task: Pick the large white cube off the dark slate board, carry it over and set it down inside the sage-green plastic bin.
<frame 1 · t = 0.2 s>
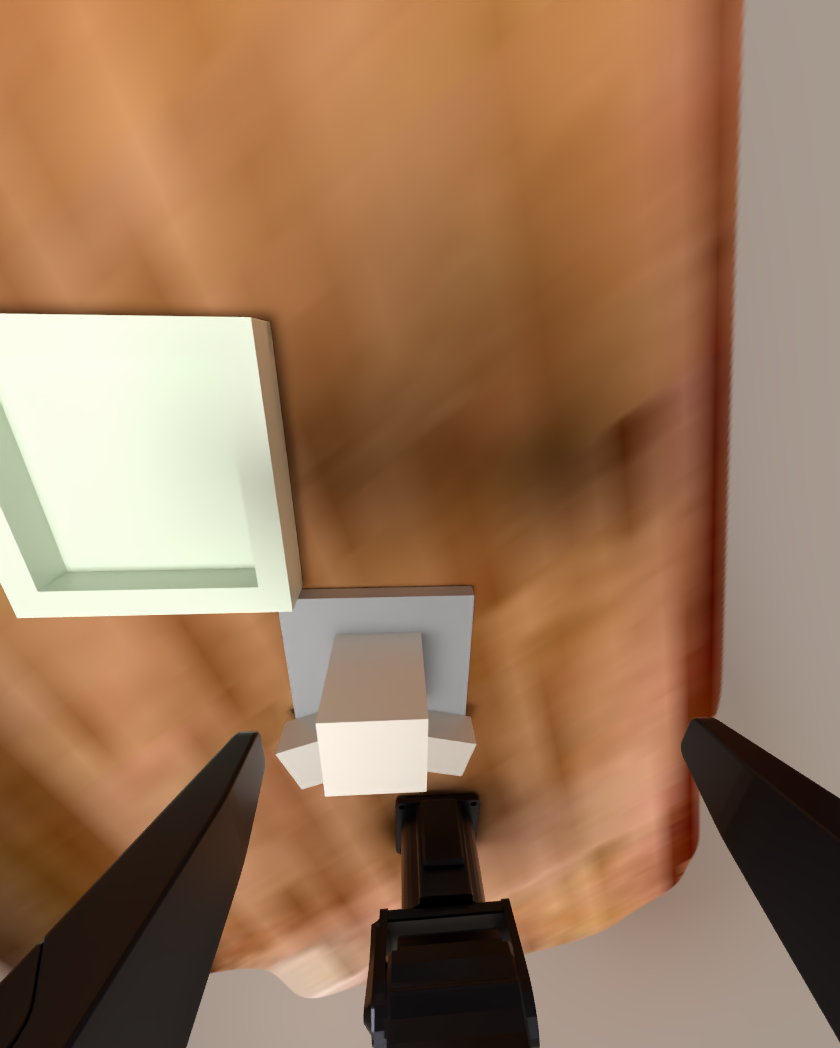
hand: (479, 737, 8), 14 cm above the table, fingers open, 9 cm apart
large white cube: (379, 666, 24), point 1 cm above the table, touching slate board
slate board: (380, 667, 25), on the table
bin: (150, 471, 20), on the table
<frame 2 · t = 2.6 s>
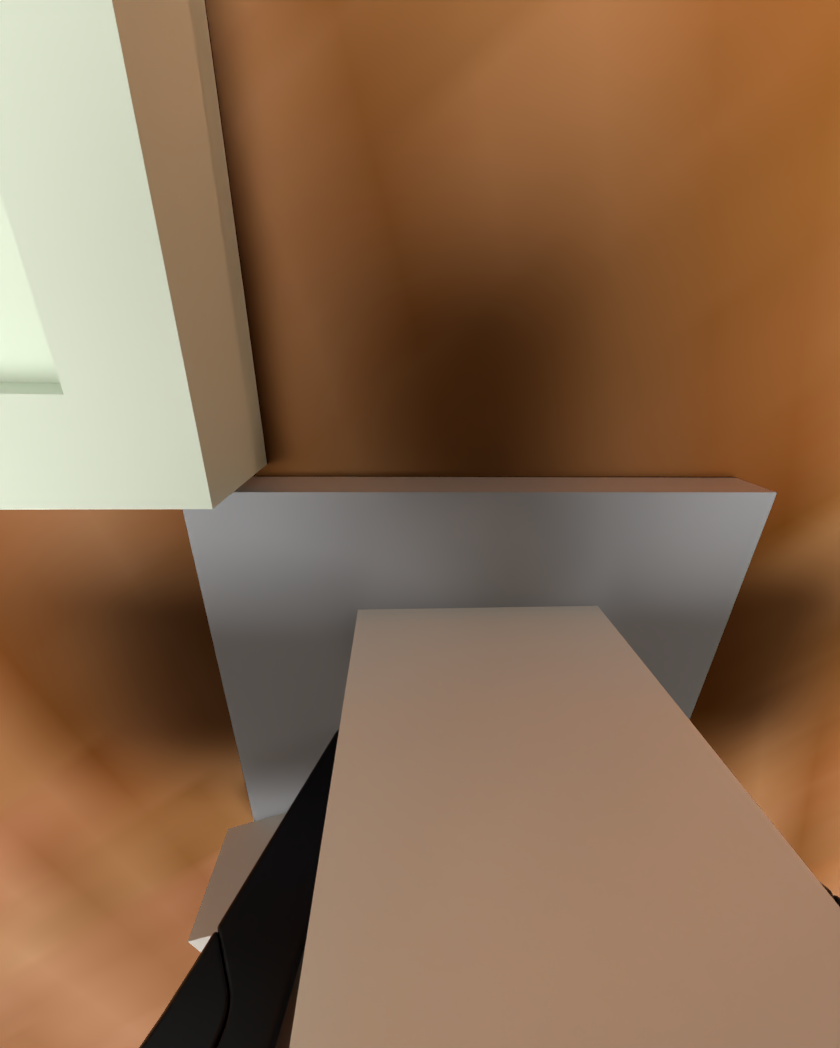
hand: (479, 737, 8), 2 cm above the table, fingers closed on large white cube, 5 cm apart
large white cube: (471, 698, 9), point 1 cm above the table, touching gripper, slate board
slate board: (462, 696, 10), on the table
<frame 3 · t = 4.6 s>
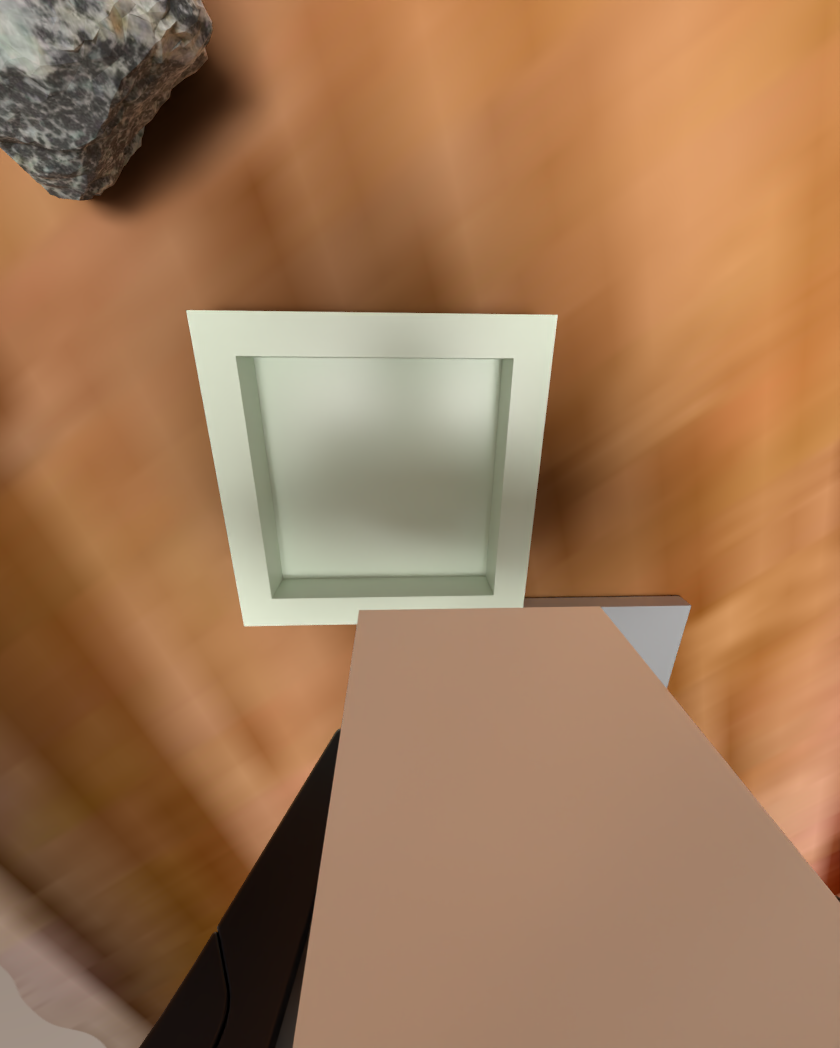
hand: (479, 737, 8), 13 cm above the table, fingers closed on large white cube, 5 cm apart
large white cube: (473, 699, 9), point 12 cm above the table, touching gripper
slate board: (568, 681, 24), on the table
bin: (383, 475, 19), on the table
stone: (111, 51, 14), on the table
when the fingers open (3 cm above the table, at t = 6.6 s): large white cube drops 2 cm, resting on bin.
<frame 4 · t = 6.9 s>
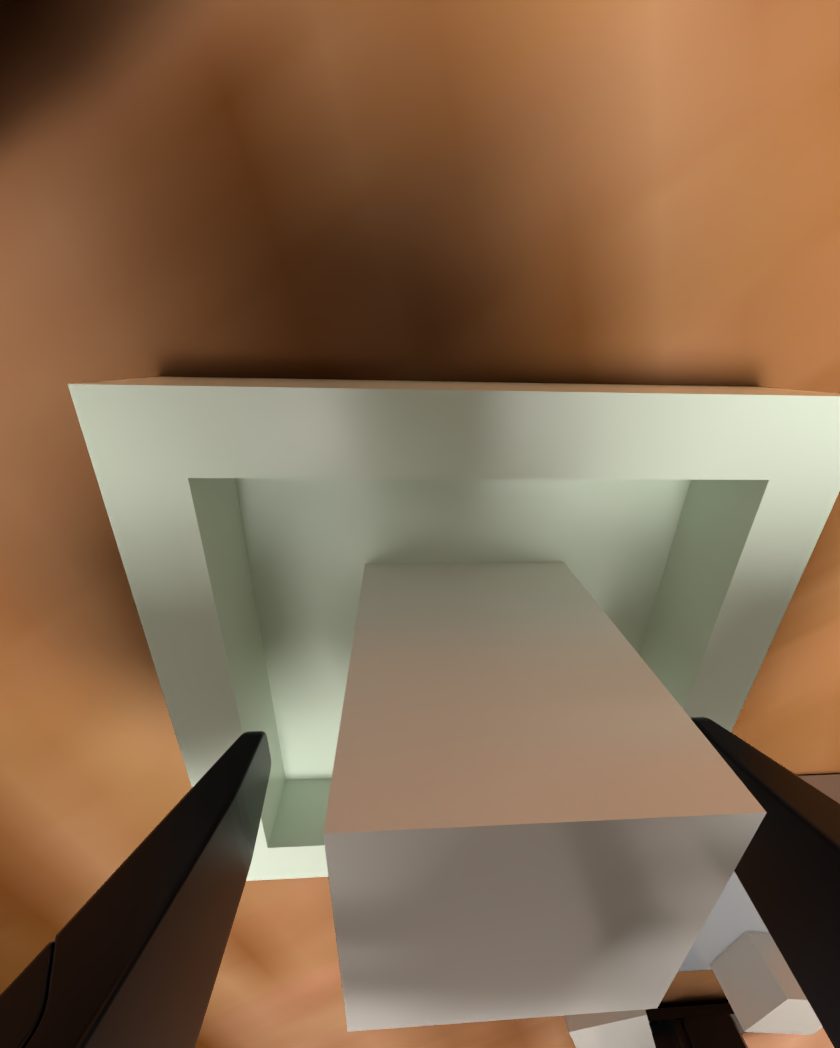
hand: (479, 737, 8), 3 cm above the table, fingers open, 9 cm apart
large white cube: (459, 643, 11), point 1 cm above the table, touching bin
slate board: (692, 871, 17), on the table
bin: (455, 630, 11), on the table
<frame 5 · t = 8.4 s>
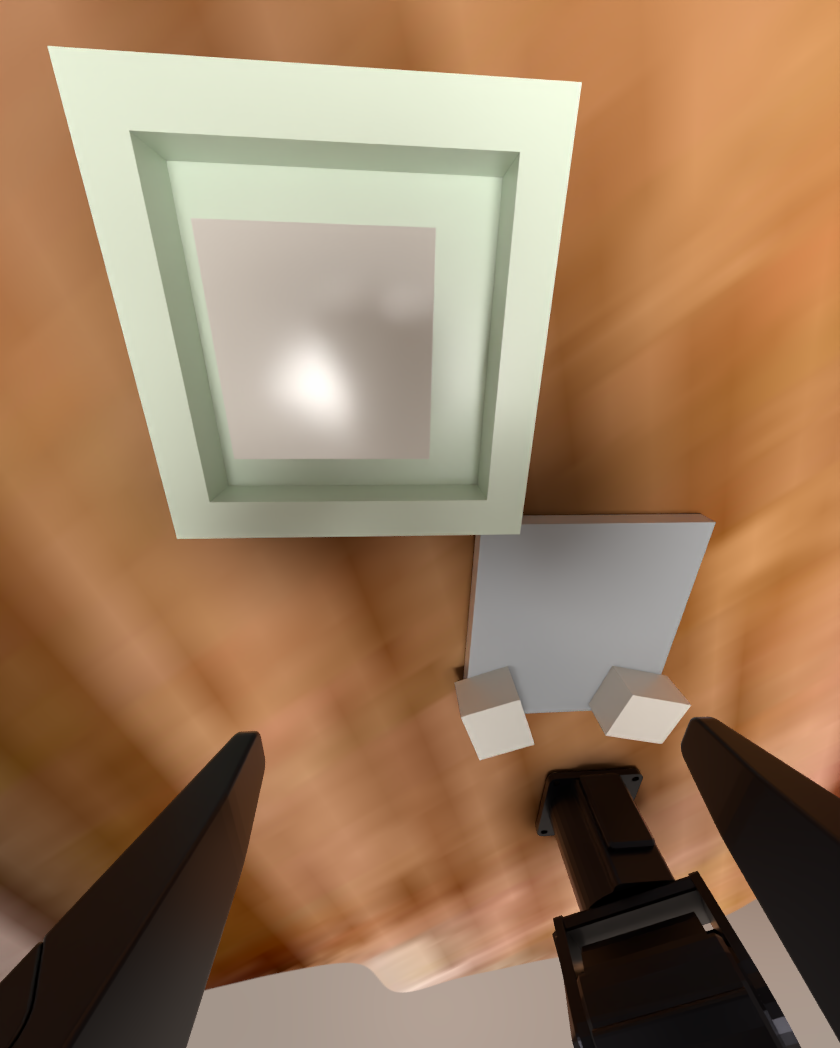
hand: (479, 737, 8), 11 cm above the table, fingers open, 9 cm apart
large white cube: (349, 349, 15), point 1 cm above the table, touching bin
slate board: (569, 617, 21), on the table
bin: (350, 350, 15), on the table
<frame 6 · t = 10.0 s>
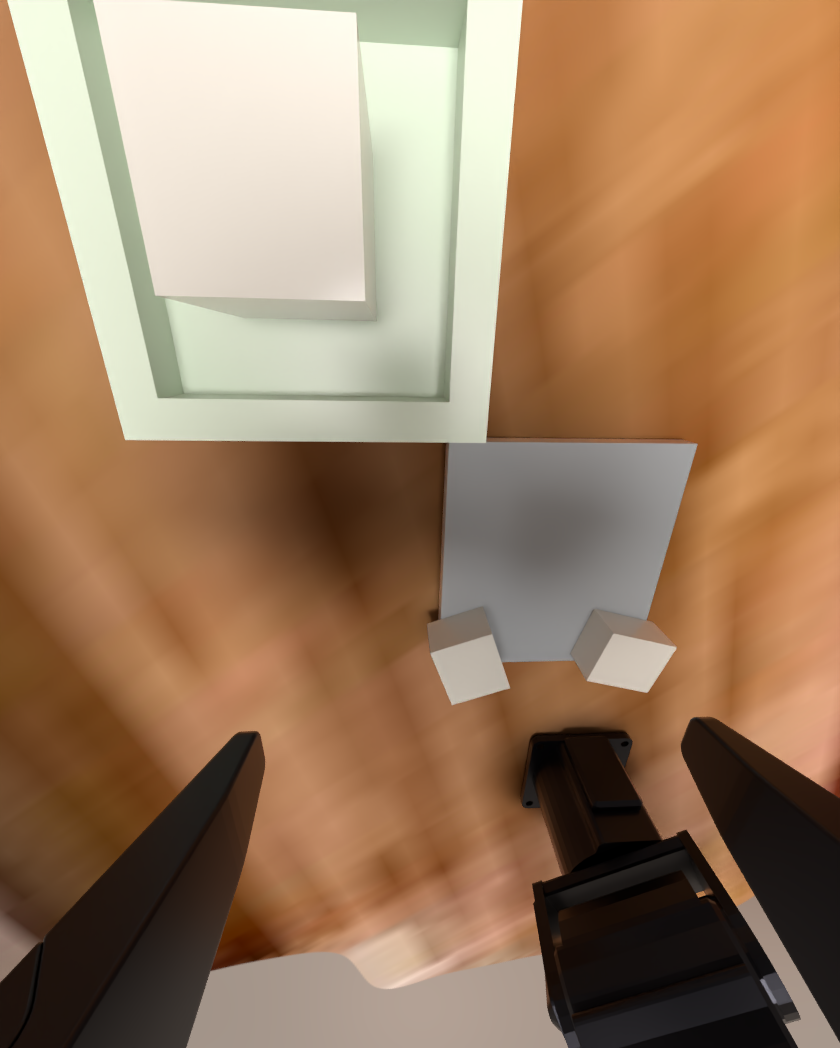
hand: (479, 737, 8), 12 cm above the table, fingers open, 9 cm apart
large white cube: (304, 241, 14), point 1 cm above the table, touching bin
slate board: (547, 555, 20), on the table
bin: (307, 246, 15), on the table
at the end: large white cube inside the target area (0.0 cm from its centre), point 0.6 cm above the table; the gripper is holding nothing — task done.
